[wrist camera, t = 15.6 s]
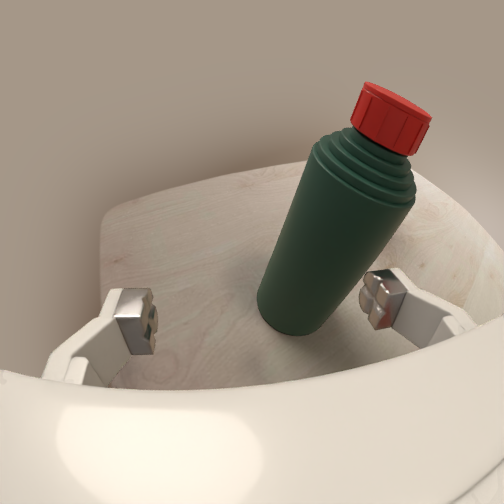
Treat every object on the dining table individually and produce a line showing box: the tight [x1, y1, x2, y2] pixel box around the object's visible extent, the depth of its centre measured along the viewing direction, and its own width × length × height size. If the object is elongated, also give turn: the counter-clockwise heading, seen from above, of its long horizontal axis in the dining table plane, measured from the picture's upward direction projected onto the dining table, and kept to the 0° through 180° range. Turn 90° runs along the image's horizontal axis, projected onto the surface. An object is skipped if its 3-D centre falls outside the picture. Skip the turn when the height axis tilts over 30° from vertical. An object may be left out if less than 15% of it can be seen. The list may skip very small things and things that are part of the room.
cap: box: [350, 82, 432, 156], centre depth 11 cm, size 4×4×2 cm
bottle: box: [257, 126, 416, 336], centre depth 17 cm, size 7×7×18 cm
